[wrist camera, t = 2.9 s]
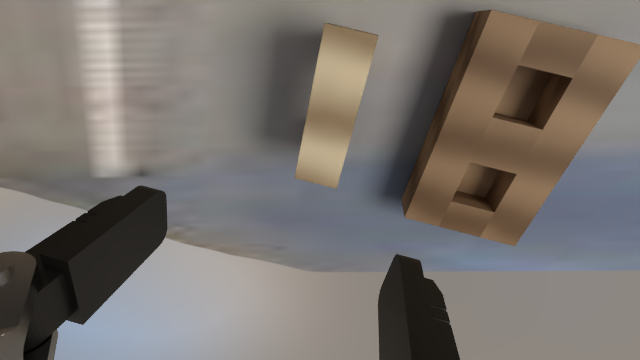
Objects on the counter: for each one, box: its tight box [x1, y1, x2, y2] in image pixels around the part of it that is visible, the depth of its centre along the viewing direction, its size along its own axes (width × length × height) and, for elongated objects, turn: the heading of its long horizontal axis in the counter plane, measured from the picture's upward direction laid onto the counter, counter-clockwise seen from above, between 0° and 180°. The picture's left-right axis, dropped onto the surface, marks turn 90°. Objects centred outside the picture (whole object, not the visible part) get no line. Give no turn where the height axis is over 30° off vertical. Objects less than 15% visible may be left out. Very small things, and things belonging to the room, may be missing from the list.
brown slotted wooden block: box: [402, 10, 640, 246], centre depth 30 cm, size 20×12×4 cm, turn 168°
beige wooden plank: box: [295, 23, 378, 189], centre depth 29 cm, size 13×4×8 cm, turn 168°
